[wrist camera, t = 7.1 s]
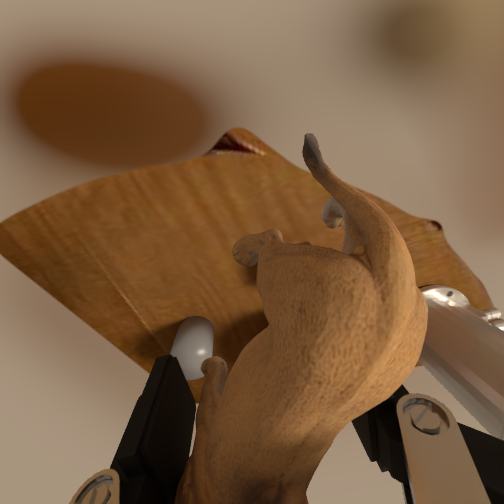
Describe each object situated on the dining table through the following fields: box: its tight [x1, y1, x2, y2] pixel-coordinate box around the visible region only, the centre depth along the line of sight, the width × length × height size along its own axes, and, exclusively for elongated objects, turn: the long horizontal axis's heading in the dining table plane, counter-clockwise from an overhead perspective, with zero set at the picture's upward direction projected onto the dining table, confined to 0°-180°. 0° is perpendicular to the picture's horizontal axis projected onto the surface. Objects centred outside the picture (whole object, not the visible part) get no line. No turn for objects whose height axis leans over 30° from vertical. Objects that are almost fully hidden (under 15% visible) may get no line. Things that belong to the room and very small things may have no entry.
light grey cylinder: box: [170, 316, 214, 380], centre depth 32 cm, size 5×5×6 cm
